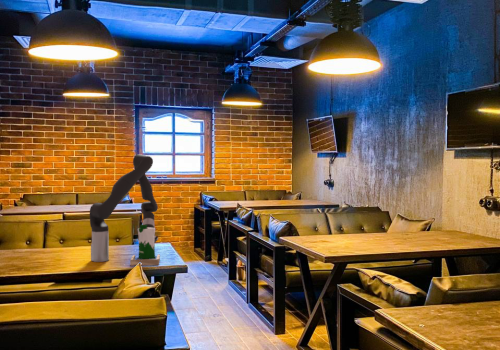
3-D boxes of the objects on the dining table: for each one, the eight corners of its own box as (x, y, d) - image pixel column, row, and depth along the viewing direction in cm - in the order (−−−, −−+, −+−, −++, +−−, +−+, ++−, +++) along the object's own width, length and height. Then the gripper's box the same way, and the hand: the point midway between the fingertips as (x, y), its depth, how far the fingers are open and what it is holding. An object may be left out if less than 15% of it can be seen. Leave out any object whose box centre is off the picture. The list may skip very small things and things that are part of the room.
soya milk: (136, 258, 291) (135, 224, 290) (148, 256, 298) (148, 223, 297) (144, 260, 285) (144, 226, 284) (157, 258, 292) (157, 224, 291)
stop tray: (132, 260, 285) (132, 255, 285) (159, 259, 288) (159, 254, 287) (130, 265, 271) (130, 260, 271) (158, 264, 273) (158, 259, 273)
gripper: (137, 223, 305) (135, 246, 293) (158, 223, 307) (158, 246, 295) (137, 231, 311) (136, 253, 299) (159, 230, 312) (158, 253, 301)
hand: (147, 250), depth 297 cm, fingers closed
